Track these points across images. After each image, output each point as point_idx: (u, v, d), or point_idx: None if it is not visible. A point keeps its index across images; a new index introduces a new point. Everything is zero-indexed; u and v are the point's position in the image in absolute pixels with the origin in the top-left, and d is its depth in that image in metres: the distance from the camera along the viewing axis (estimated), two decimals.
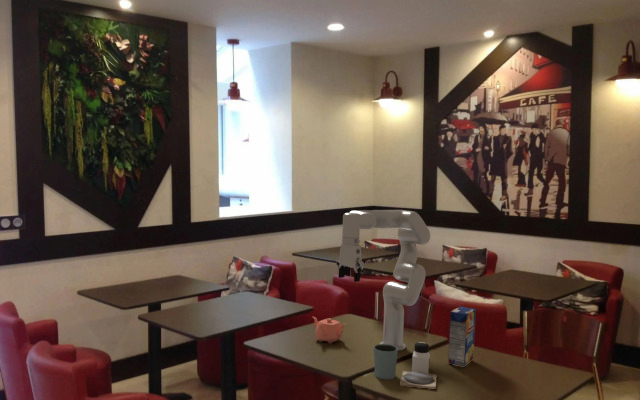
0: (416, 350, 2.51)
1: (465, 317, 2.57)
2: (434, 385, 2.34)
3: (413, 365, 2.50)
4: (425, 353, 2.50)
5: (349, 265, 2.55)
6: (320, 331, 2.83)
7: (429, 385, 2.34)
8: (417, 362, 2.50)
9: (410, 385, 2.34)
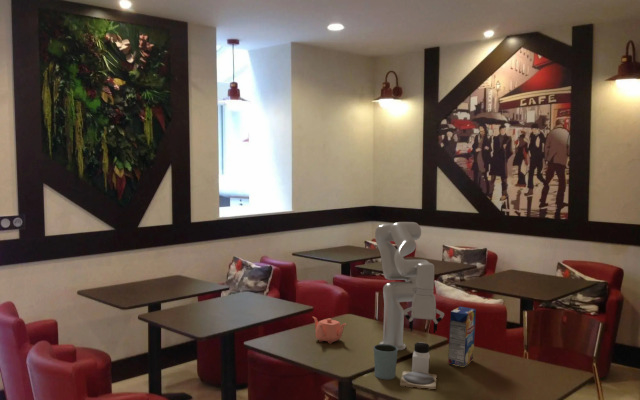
0: (416, 350, 2.51)
1: (465, 317, 2.57)
2: (434, 385, 2.34)
3: (413, 365, 2.50)
4: (425, 353, 2.50)
5: None
6: (320, 331, 2.83)
7: (429, 385, 2.34)
8: (417, 362, 2.50)
9: (410, 385, 2.34)
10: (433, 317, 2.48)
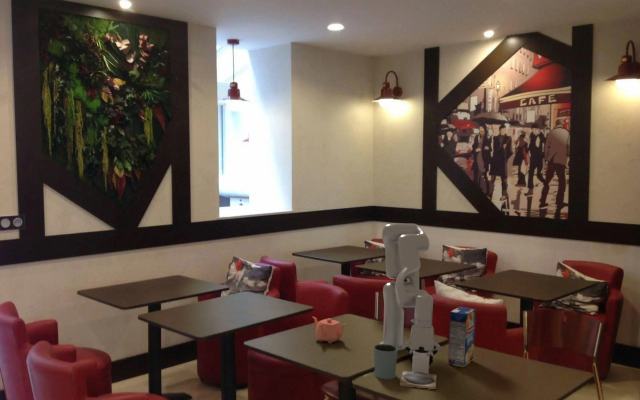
0: (416, 350, 2.51)
1: (465, 317, 2.57)
2: (434, 385, 2.34)
3: (413, 365, 2.50)
4: (425, 353, 2.50)
5: None
6: (320, 331, 2.83)
7: (429, 385, 2.34)
8: (417, 362, 2.50)
9: (410, 385, 2.34)
10: (431, 349, 2.49)
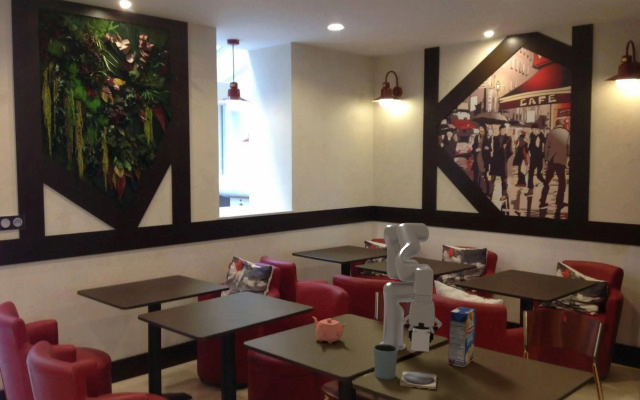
0: (416, 327, 2.37)
1: (465, 317, 2.57)
2: (434, 385, 2.34)
3: (413, 342, 2.36)
4: (425, 330, 2.36)
5: None
6: (320, 331, 2.83)
7: (429, 385, 2.34)
8: (417, 339, 2.36)
9: (410, 385, 2.34)
10: (432, 325, 2.35)
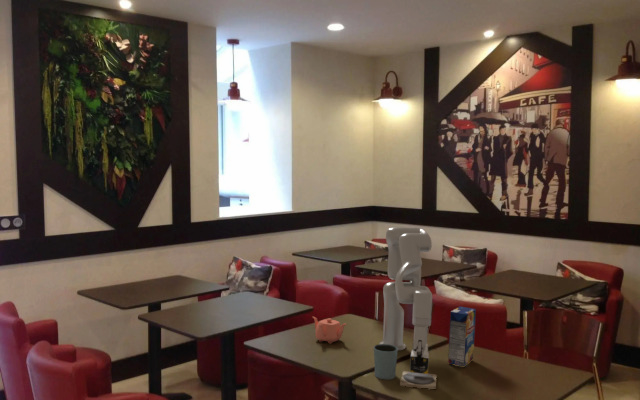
0: None
1: (465, 317, 2.57)
2: (434, 385, 2.34)
3: None
4: (413, 351, 2.38)
5: None
6: (320, 331, 2.83)
7: (429, 385, 2.34)
8: None
9: (410, 385, 2.34)
10: (413, 347, 2.36)
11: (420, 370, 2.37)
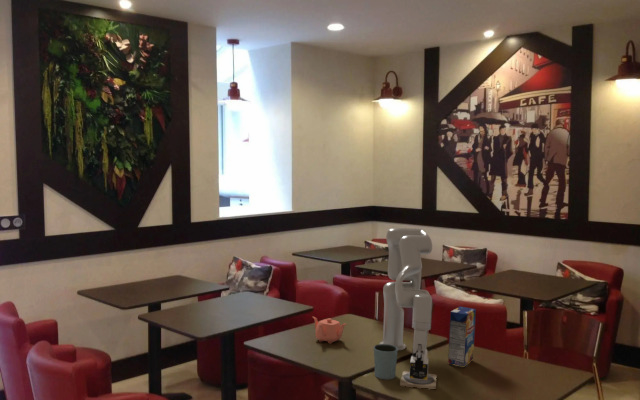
0: None
1: (465, 317, 2.57)
2: (434, 385, 2.34)
3: None
4: (413, 357, 2.39)
5: None
6: (320, 331, 2.83)
7: (429, 385, 2.34)
8: None
9: (410, 385, 2.34)
10: (413, 351, 2.36)
11: (419, 376, 2.37)
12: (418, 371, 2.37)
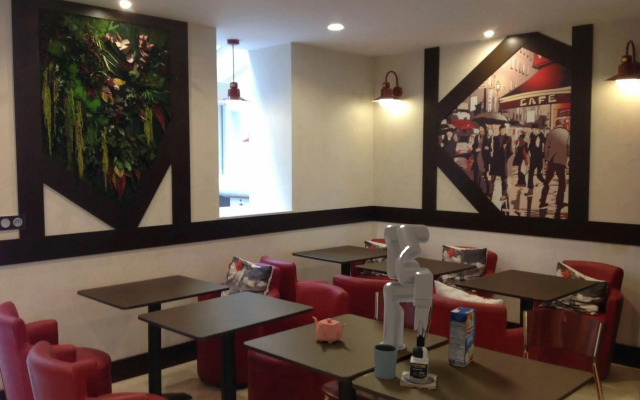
0: None
1: (465, 317, 2.57)
2: (434, 385, 2.34)
3: None
4: (413, 357, 2.39)
5: None
6: (320, 331, 2.83)
7: (429, 385, 2.34)
8: None
9: (410, 385, 2.34)
10: (414, 328, 2.35)
11: (419, 376, 2.37)
12: (418, 371, 2.37)
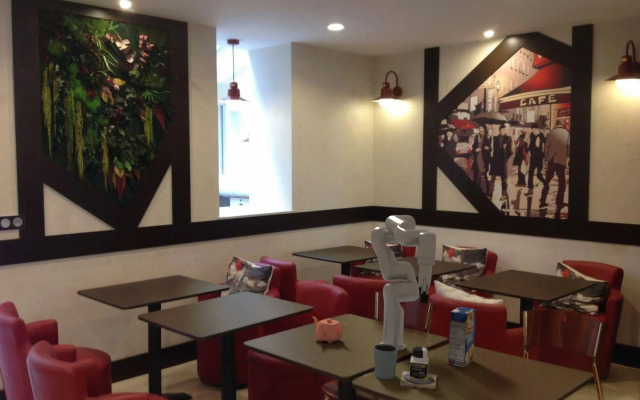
0: None
1: (465, 317, 2.57)
2: (434, 385, 2.34)
3: None
4: (413, 357, 2.39)
5: None
6: (320, 331, 2.83)
7: (429, 385, 2.34)
8: None
9: (410, 385, 2.34)
10: (418, 285, 2.50)
11: (419, 376, 2.37)
12: (418, 371, 2.37)
